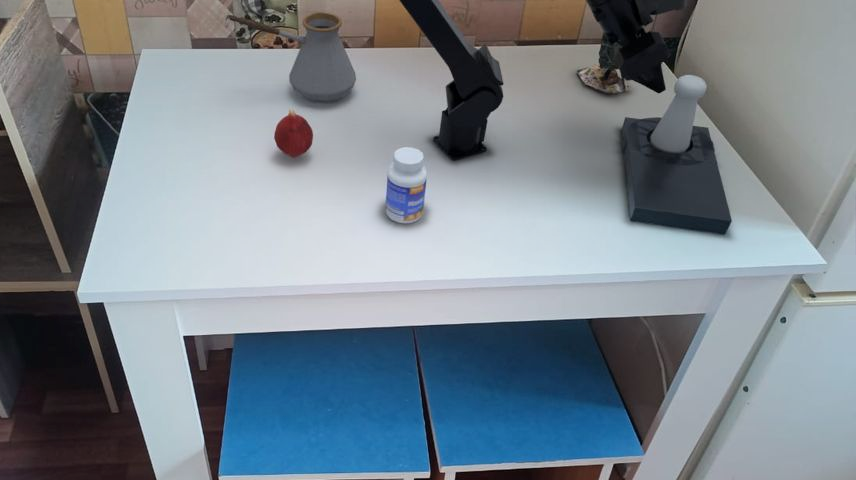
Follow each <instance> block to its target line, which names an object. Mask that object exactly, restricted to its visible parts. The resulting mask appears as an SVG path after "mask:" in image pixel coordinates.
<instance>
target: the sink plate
mask: <svg viewBox="0 0 856 480" xmlns="http://www.w3.org/2000/svg"><path fill="white" fill-rule="evenodd" d="M661 119H662V117H659V116H655V117H645V118H635V117H628V116H626V117H624V120H623V123H622V126H621V128H620V129H621V130H620V131H621V132H620V133H621V152H622V154H623V162H624V163H623V164H624V171H625V180H626V192H627V201H628V212H629V220H630V222H635V223H642V224H643V223H644V224H650V225H658V226H664V227H672V228H677V229H685V230H692V231H698V232H706V233H713V234H718V235H719V234H721V235H726V234H727V232H728V230H729V228H730V226H731V224H732V222H733V220H732V216H731V211H730V208H729V204H728V200H727V196H726V193H725V189H724V184H723V180H722V177H721V176H722V175H721V173H720V169H719V165H718V159H717V156H716V153H715V152H716V148H715V145H714V142H713V140H712V137H711V132H710V130H709V127H706V126H699V125H693V128H692V134H691V139H690V144H689V147H688V148H687V150H686V151H685V152H684V153H680V154H674V153H667V152H664V151H661V150H658V149H657V148H655V147H654V146H652V145H651V141H650V137H651V135H652V133H653V132H654V130H655V128H656V127H657V125H658V123H659V122H660V120H661Z"/></svg>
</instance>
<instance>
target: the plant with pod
mask: <svg viewBox="0 0 856 480" xmlns="http://www.w3.org/2000/svg"><path fill="white" fill-rule="evenodd" d="M601 36H602V37H601V41H600V48H599V51H598V57H599V58H598V64H599V65H597V64H595V65H592V66H589V67H584V68H581V69H579V68H578V69H577V70H576V73H577V75H578V77H579V78H580V79H581V80H582V82H583V84H584V85H587V86H590V87H591V88H594V89H596V90H599V91H601V92H603V93H604V94H607V95H608V94H609V95H610V94H611V95H612V94H613V95H615V94H616V93H617V94H619V93H623V92H627V91H628V89H629V85H628V83H626V80H625V78H624V76H623V74H622V73H621V71H620V69H619V67H618V64H617V62H616V60H615V57H616V54H617V52H618V50H619V49H620V48H622V46H621V45H619V44H618V43H616V42H615V43H613V44H612V45H610V43H609V41H608V40H607V37H606V35H605V33H604V31H603V32H602V35H601ZM617 70H619V73H620V75H619V74H618V71H617Z"/></svg>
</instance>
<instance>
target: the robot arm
mask: <svg viewBox="0 0 856 480" xmlns="http://www.w3.org/2000/svg"><path fill="white" fill-rule="evenodd" d="M585 1H586V3H587V5H588V7H589V8H590V11H591V13H592V15H593V17H594V19H595V21H596V23H598V24H599V26H600V27H601V29H602V31H603V32H604V33H605V35H606V37H607V40H608V41H609V43H610V45H612V44H613V43H615V42H616V43H618V44H619V45H621V46H622V48H620V49H619V50H618V52H617V54H616V57H615V60H616V62H617V64H618V67H619V69H620V70H619V69H618V70H619V72H620V71H621V73H622V74H623V76H624V78H625V82H626V81H628V82H629V81H632V82H635V83H637V84H639V85H641V86H643V87H645V88H647V89H649V90H651V91H653V92H654V93H657V94H661V93H663V92H665V91H666V90H667V88H666V82H665V77H664V72H663V67H662V65H663V63H664V62H666V61H668V60H669V59H670V57H671V56H672V53H671V51H670V49H669V48H668V46H667V43H666V42H665V41H664V38H663V36H662V35H661V33H660V32H659V31H652V30H649V31H646V29H645V27H647V26H649V25H650V24H652V23H653V22H654V19H653V17H652V16H659V15H661V14H665V13H668V12H673V11H680V10H681V11H682V10H684V9H685V8H686V7H687V0H585ZM399 3H401V5H402V6H403V8H404V9H405V10H406V12H407V13H408V15H410V17H411V18H412V20H413V21H414V23H415V24H416V25H417V27H418V28H419V30H420V31H421V32H422V33H423V35H424V36H425V37H426V39H427V40H428V42H429V43H430V44H431V46H433V49H434V50H435V51H436V52H437V53H438V55H439V56H440V58H441V59H442V60H443V62H444V63H445V65H446V66H447V67H448V69H449V71H450V74H451V76H452V79H453V80H452V81H450V82H449V83H448V84H446V85H445V96H446V106H447V107H446V109H443V110H442V111H441V116H440V124H439V125H440V126H439V132H438V135H435V136H432V141H433V143H435V144H436V146H438V148H440V150H441V151H442V152H443V153H444V155H446V156H447V157H448V158H449V159H450V160H451V161H458V160H461V159H465V158H469V157H472V156H477V155H480V154H484V153H486V152H488V147H487V146H486V145H485V144H484V142H485V137H486V132H487V125H488V119H489V116H490V115H491V114H492V113H493V112H494V111H496V110H498V109H499V107H500V106H501V104H502V103H503V100H504V91H503V87H502V86H503V85H505V84H504V79H503V75H502V70H501V69H502V68H501V64H500V61H499V60H497V59H495V57H494V56H492V54H491V51H490V50H489V48H488V45H487V44H486V43H484V44H483V45H482V46H480V48H479V49H478V48H477V47H475V46H473V45H472V44H470V42H468V41H467V39H466V37H465V36H464V35H463V34H462V31H461V30H460V28H458V26H457V25H456V23H455V22H454V20H453V19H452V17H451V16H450V15H449V13H448V11H447V10H446V9H445V8H444V6H443V4H441V1H440V0H399ZM621 73H620V74H621Z"/></svg>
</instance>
